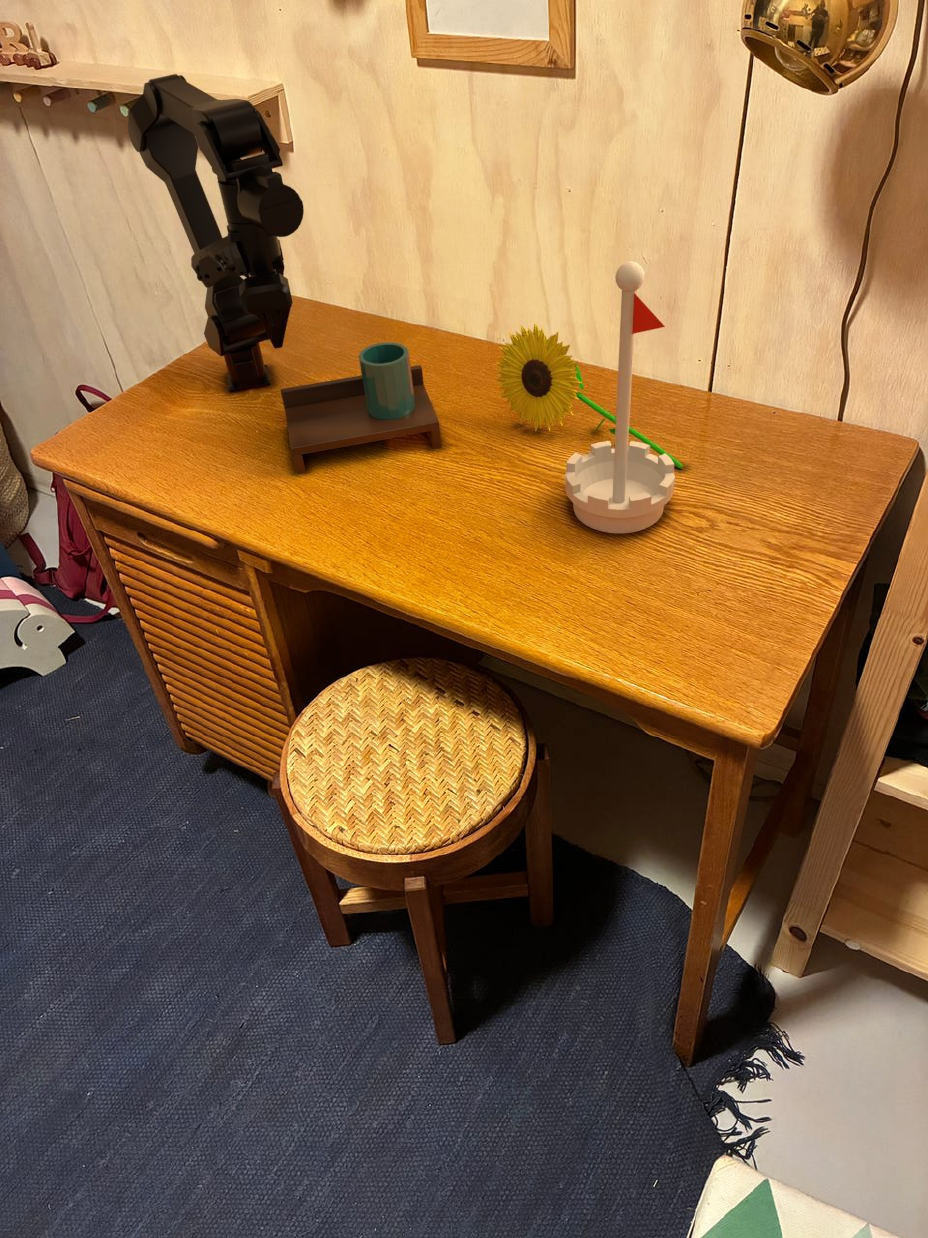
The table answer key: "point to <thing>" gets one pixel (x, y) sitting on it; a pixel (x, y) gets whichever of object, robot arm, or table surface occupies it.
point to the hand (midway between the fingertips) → (275, 333)
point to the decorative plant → (546, 382)
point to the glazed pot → (387, 380)
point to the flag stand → (622, 442)
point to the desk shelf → (349, 417)
